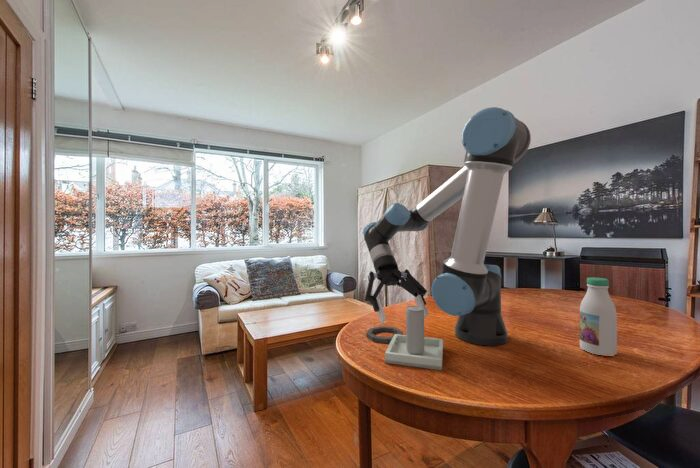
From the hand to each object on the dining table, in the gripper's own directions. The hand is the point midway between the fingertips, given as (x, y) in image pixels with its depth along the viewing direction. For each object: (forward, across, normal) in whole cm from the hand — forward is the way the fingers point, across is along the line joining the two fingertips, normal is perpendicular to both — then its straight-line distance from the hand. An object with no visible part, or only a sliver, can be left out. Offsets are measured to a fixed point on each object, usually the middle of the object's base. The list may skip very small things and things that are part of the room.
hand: (405, 318), depth 84 cm
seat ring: (-1, +2, -13) cm, 13 cm away
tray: (+10, 0, -2) cm, 10 cm away
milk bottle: (+20, -48, +8) cm, 52 cm away
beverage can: (+9, 0, -2) cm, 9 cm away
